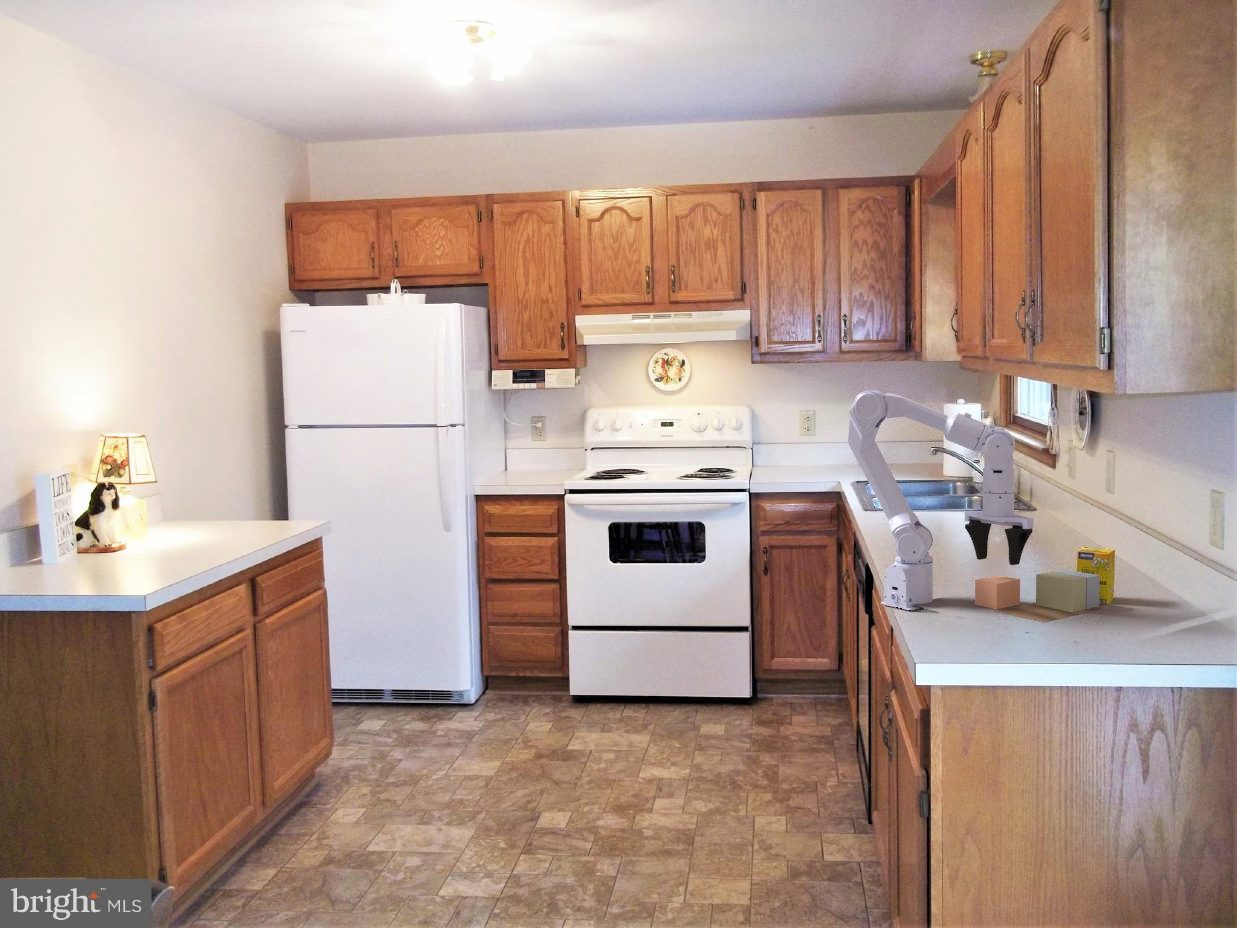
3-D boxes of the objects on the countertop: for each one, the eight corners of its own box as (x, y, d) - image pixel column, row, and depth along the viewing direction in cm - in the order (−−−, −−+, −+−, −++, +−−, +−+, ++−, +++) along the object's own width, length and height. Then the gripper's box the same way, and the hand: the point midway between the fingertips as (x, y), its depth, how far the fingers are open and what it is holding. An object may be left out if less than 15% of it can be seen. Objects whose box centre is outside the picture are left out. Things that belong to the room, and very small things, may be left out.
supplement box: (1075, 606, 216) (1076, 550, 215) (1082, 600, 221) (1082, 546, 220) (1108, 609, 212) (1109, 553, 211) (1114, 603, 217) (1115, 548, 216)
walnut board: (1044, 627, 199) (1044, 622, 199) (993, 616, 208) (993, 611, 208) (1108, 612, 210) (1108, 606, 210) (1057, 602, 219) (1058, 597, 219)
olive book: (1072, 612, 206) (1073, 580, 206) (1035, 605, 213) (1036, 574, 212) (1085, 609, 208) (1086, 578, 208) (1048, 602, 215) (1049, 571, 214)
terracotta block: (996, 614, 210) (996, 583, 210) (975, 610, 215) (975, 579, 214) (1019, 609, 214) (1020, 579, 214) (998, 605, 218) (998, 575, 218)
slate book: (1086, 609, 208) (1087, 577, 208) (1049, 601, 215) (1050, 571, 215) (1099, 606, 211) (1099, 575, 210) (1062, 599, 217) (1062, 569, 217)
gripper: (1044, 493, 208) (1043, 564, 210) (981, 487, 221) (980, 554, 222) (1020, 496, 205) (1019, 568, 206) (957, 490, 217) (957, 558, 218)
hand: (997, 561), depth 214 cm, fingers open, 7 cm apart
